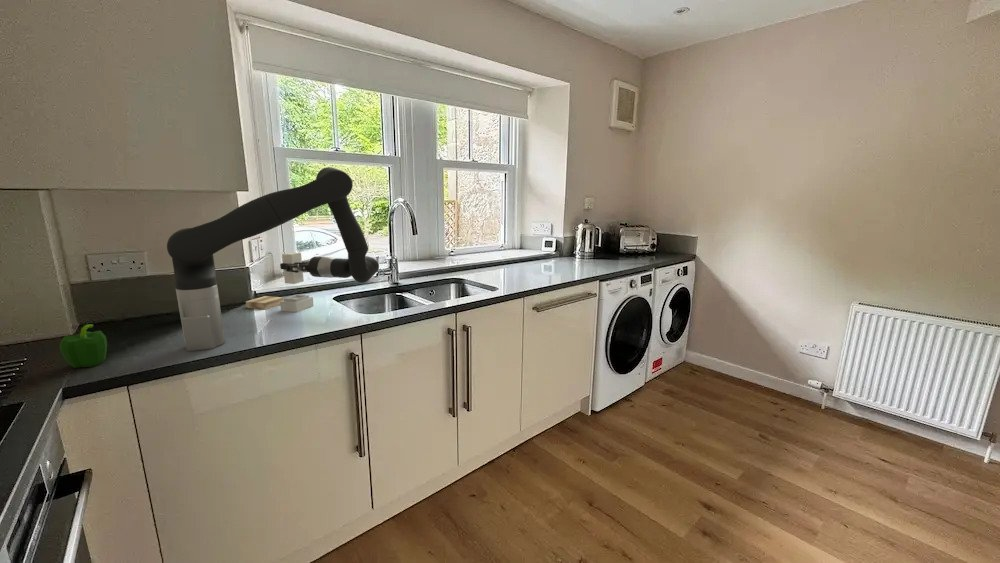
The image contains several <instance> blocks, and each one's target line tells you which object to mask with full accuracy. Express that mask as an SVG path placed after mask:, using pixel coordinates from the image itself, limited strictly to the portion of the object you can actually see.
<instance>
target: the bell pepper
mask: <svg viewBox="0 0 1000 563" xmlns="http://www.w3.org/2000/svg"><path fill="white" fill-rule="evenodd" d="M93 327H94V324H89V323H88V324H87V323H86V324H85V325H84V326H82V328H80V333H78V334H77V335H65V336H63V338H62V339H61V341H60V343H59V345H58V346H59V351H60V354H61V355H62V357H63V359H64V360H65V362H67V363H68V365H70V366H71V367H72V368H74V369H78V368H85V367H86V368H88V367H94V366H97V365H100V364H103V363H104V361H105V359H106V358H107V351H108V339H107V336H106V334H104V333H103V331H102V330H94V331H87V330H88V329H92V328H93Z"/></svg>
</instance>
